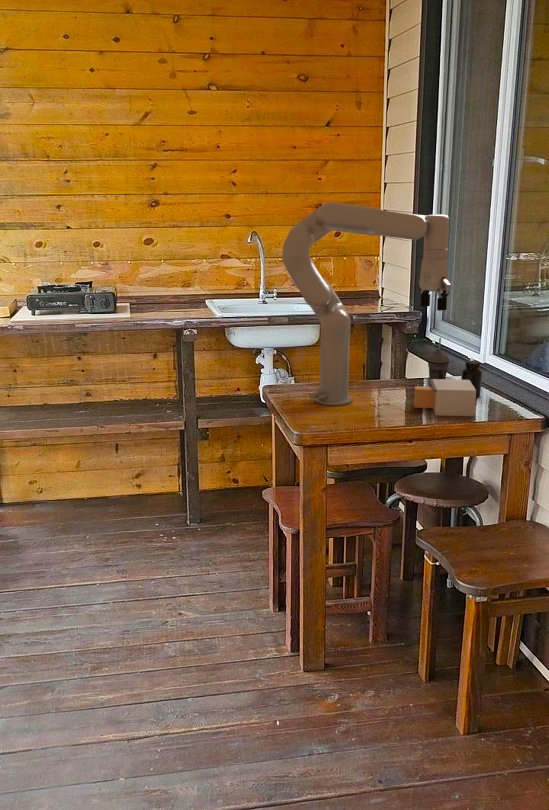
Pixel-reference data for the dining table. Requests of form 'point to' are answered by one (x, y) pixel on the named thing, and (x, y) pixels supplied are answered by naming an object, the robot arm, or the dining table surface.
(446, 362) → the beverage cup
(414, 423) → the dining table surface
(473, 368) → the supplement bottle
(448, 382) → the beige rectangular block
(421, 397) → the orange rectangular block
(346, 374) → the robot arm
